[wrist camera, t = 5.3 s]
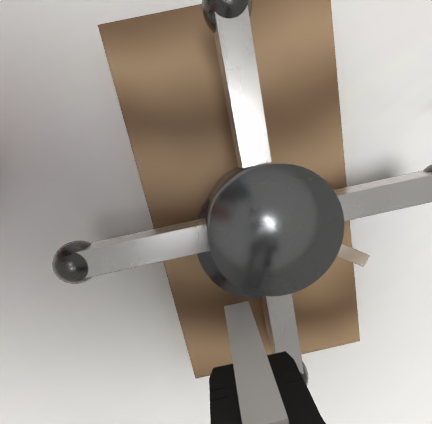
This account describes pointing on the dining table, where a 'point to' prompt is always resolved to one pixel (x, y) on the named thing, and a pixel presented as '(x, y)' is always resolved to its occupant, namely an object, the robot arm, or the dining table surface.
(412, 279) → the dining table surface
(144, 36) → the brown wooden board
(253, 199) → the cam capstan
